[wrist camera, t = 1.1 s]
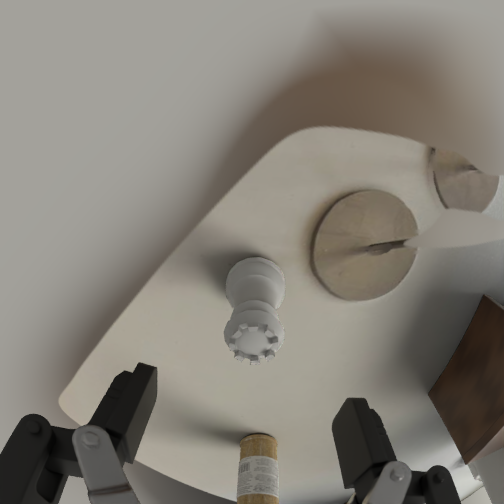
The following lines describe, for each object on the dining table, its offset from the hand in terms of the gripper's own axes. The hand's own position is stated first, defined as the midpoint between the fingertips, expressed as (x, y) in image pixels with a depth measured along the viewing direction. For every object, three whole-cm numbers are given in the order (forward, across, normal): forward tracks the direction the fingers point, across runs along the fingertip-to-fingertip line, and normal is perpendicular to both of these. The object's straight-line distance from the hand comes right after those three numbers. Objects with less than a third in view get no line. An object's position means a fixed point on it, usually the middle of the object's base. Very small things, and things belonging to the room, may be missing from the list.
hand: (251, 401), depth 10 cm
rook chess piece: (+12, 0, 0) cm, 12 cm away
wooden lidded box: (+12, -30, +4) cm, 32 cm away
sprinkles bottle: (+12, -5, +21) cm, 24 cm away
